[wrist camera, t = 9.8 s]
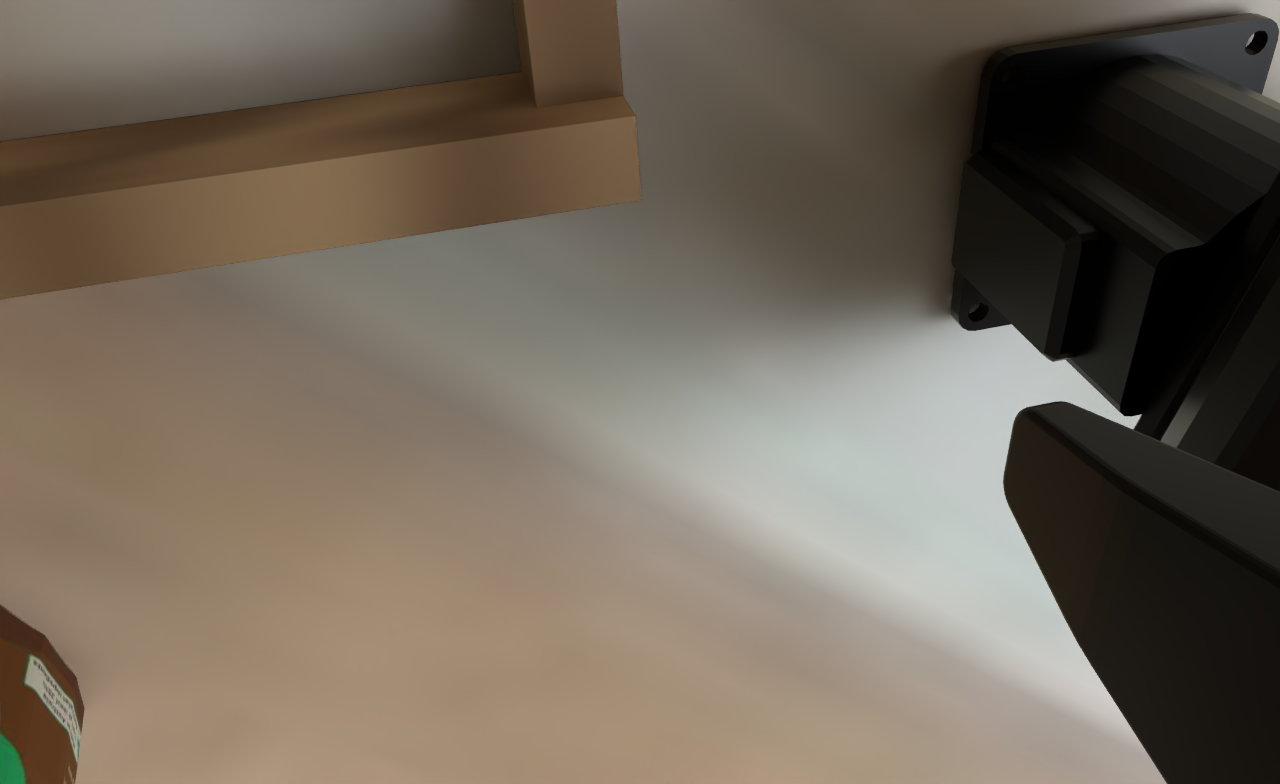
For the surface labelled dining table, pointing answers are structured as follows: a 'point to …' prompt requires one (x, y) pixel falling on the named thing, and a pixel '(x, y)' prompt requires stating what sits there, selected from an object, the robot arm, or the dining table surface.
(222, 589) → the dining table surface
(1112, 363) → the robot arm
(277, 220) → the bay
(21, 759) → the food container
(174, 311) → the dining table surface
